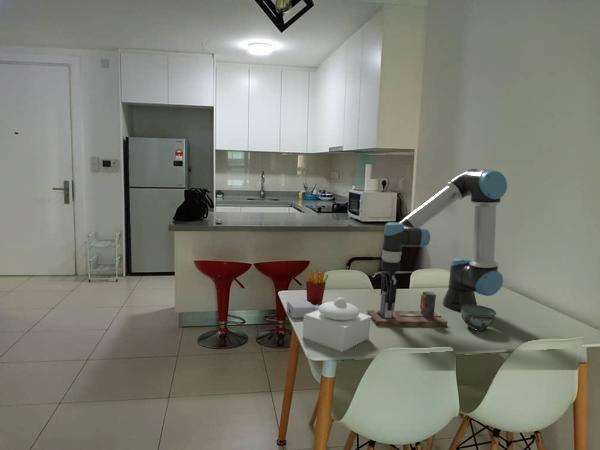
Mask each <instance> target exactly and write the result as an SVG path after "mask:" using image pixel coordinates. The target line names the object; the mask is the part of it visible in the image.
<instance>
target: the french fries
mask: <svg viewBox="0 0 600 450" xmlns="http://www.w3.org/2000/svg"><path fill="white" fill-rule="evenodd" d="M328 278H329V274H326V276H325V271H323V270H322V271H318V270H315V271H312V270H311V271H310V272H306V279H307V280H306V281H305V288H306V289H305V291H306V301H308V302H310V303H311V304H312V305H321V304H323V300H324V299H323V298H324V293H325V288H326V282H327V280H328Z"/></svg>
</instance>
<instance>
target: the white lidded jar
mask: <svg viewBox="0 0 600 450" xmlns="http://www.w3.org/2000/svg"><path fill="white" fill-rule="evenodd" d="M318 309H319V310H317V311H314V312H311V313H308V314H306V315H305V316H304V318H303V320H302V321H303V322H302V325H303V326H302V334H301V336H302V339H305V340H308V341H311V342H313V343H315V344H316V343H317V344H318V345H321V346H324V347H326V346H327V347H326V348H329V347H330V349H332V350H334V349H335V350H334V351H337V352H341V353H344V352H346V351H348V350H349V348H350V349H352V348H354V347H355V345H356V346H358V345H359V343H360V344H361V342H362V343H363V341H364V342H366V341H368V340H369V339H370V338H369V337H370V326H371V325H370V324H371V318H372V316H369V315H367V313H366V314H365V313H362V312H360V309H359V308H358V307H357V306H356V305H354V304H352V303H349V302H347V300H346V299H345V298H344V297H340V296H339V297H337V298H335V299H334V300H331V301H325V302H324V303H323V302H322V303H321V304H319V308H318ZM367 339H368V340H367ZM365 340H366V341H365ZM357 344H358V345H357ZM353 346H354V347H353ZM351 347H352V348H351ZM345 350H346V351H345Z"/></svg>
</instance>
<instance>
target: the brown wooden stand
mask: <svg viewBox="0 0 600 450" xmlns="http://www.w3.org/2000/svg"><path fill="white" fill-rule="evenodd" d="M436 298H437V295H436V294H435V293H434V292H433V291H423V292H422V294H421V295H420V305H419V309H420V310H394V311H393V313H392V318H382V316H381V315H380V310H373V309H372V310H369V309H368V310H367V311H366V312H367V313H366V315H369V316H372V318H371V319H370V321H372V323H374V325H375V326H376V327H448V321H447V320H446V319H445V318H443V317H442V314H438V313H437V312H436V311H435V308H436Z"/></svg>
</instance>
